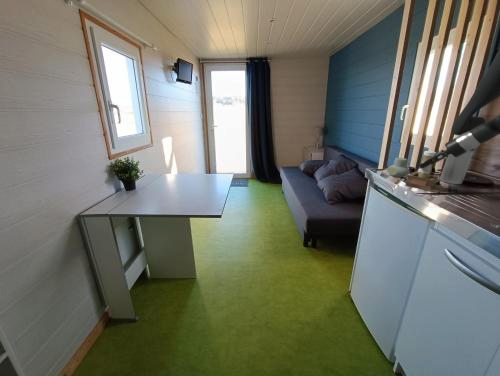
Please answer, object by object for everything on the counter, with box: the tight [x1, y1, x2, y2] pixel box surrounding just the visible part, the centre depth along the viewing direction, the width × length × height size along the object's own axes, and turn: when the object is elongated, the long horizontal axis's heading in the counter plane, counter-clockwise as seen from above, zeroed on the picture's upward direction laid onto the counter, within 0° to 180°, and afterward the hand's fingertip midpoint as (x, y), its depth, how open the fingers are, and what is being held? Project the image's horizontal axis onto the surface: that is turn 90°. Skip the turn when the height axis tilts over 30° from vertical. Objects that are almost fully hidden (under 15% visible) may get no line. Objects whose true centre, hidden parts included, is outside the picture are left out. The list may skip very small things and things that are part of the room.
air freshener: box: [386, 157, 411, 178], centre depth 129 cm, size 11×8×10 cm
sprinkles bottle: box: [418, 150, 437, 179], centre depth 110 cm, size 5×5×14 cm
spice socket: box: [404, 171, 445, 194], centre depth 112 cm, size 12×13×5 cm
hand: (421, 166), depth 111 cm, fingers closed on sprinkles bottle, 4 cm apart
